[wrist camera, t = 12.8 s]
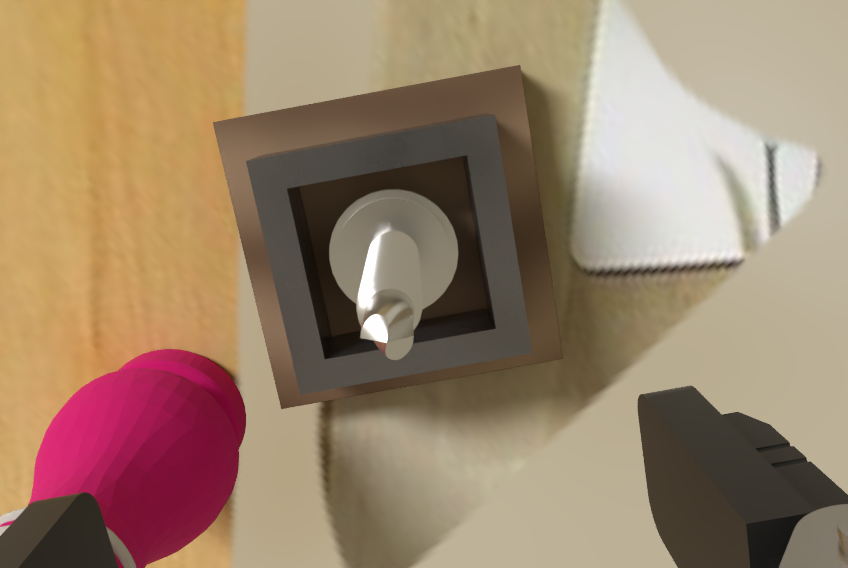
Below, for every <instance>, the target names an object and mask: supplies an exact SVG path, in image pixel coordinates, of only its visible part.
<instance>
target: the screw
mask: <svg viewBox="0 0 848 568" xmlns="http://www.w3.org/2000/svg"><path fill="white" fill-rule="evenodd" d="M329 260H330V264H331V269H332V273H333V275H334V277H335V279H336V281H337V283H338V286H339V287H340V288H341V289H342V291H343V292H344V293H345V294H346V296H347V297H348V298H350V299H351V300H352V301H353V302H354V303H356V304H357V305H356V309H357V315H358V320H359V323H360V326H361V336H360V338H362V339H368V340H373V341H374V342H375V344H376V346H377V347H378V348H379V350H380V351H381V352H382V353H383V354H384V355H385V356H386V357H388V358H389V359H391V360H399V359H401V358H403V357H404V356H405V355H406V354H407V353H408V352H409V350H410V349H411V347H412V344H413V338H414V329H415V328H416V326H417V325H418V323H419V321H420V318H421V313H422V310H423V309H424V308H426V307H428V306H429V305H431V304H432V303H434V302H435V301H436V300H437V299H438V298H439V297H440V296H441V295H442V294H443V293H444V292H445V291H446V289H447V287H448V286H449V284H450V283H451V281H452V279H453V276H454V274H455V271H456V268H457V261H458V244H457V239H456V235H455V232H454V229H453V226H452V225H451V223H450V221H449V219H448V218H447V216H446V214H445V213H444V212H443V211H442V210H441V209H440V208H439V207H438V206H437V204H435V203H434V202H432V201H431V200H430V199H428V198H427V197H425V196H423V195H421V194H418V193H416V192H413V191H410V190H404V189H399V188H395V189H382V190H378V191H374V192H370V193H368V194H366V195H364V196H363V197H361V198H359V199H357V200H356V201H355V202H354V203H352V204H351V205H350V206H349V207H348V208H347V209H346V210H345V211H344V213H343V214H342V215H341V216H340V218H339V219H338V221H337V223H336V225H335V228H334V230H333V232H332V236H331V240H330V245H329Z"/></svg>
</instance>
